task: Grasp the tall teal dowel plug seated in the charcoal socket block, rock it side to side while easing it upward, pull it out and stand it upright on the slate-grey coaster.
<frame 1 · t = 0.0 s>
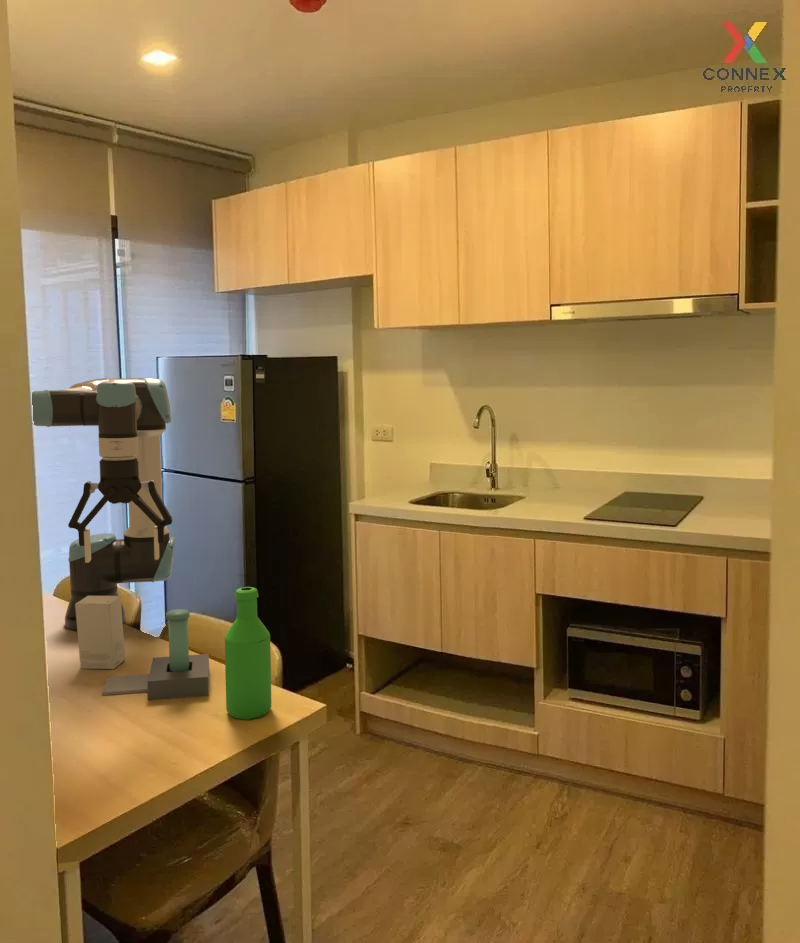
hand: (122, 559, 169), 28 cm above the table, fingers open, 13 cm apart
skincare box: (102, 665, 187), on the table
bottle: (249, 712, 162), on the table
plug: (178, 649, 174), in the socket block
socket block: (180, 684, 175), on the table
coaster: (127, 685, 175), on the table
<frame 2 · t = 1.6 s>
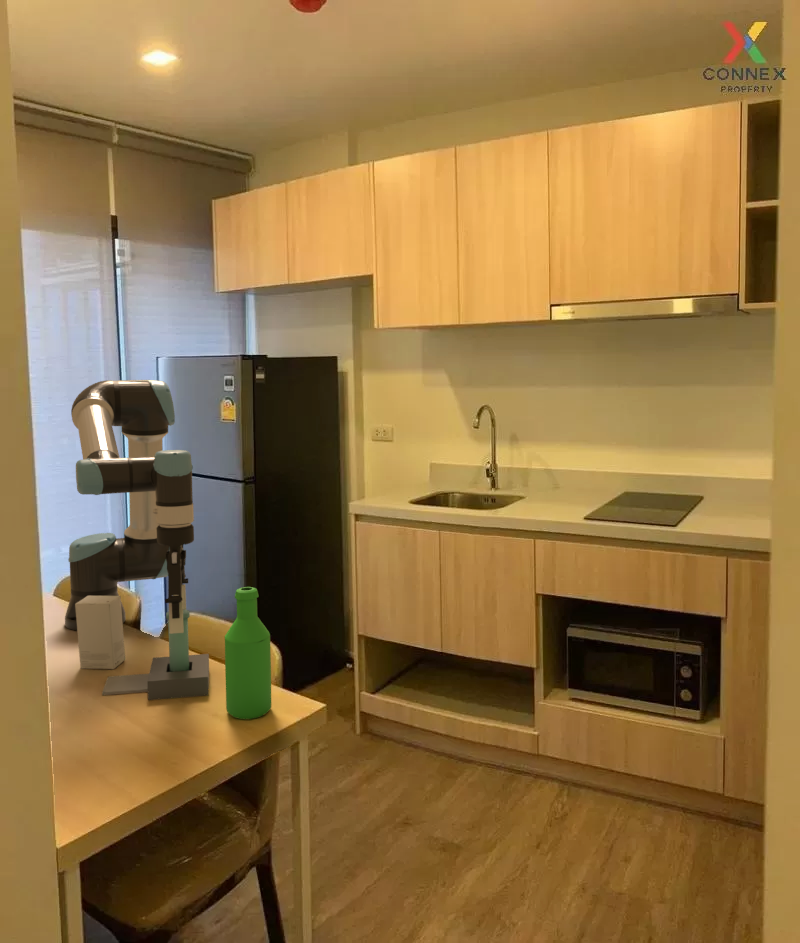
hand: (178, 623, 173), 14 cm above the table, fingers open, 13 cm apart
nothing on the table moved.
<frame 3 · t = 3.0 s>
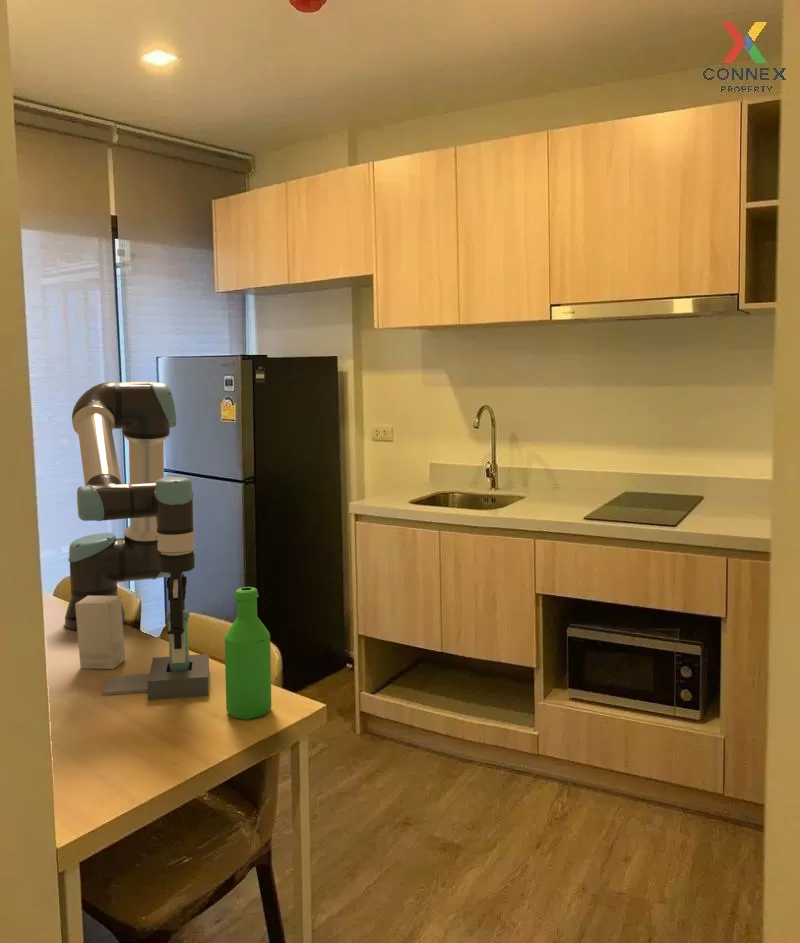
hand: (179, 658, 174), 6 cm above the table, fingers closed on plug, 4 cm apart
plug: (178, 648, 174), in the socket block, touching gripper
everything else where it was.
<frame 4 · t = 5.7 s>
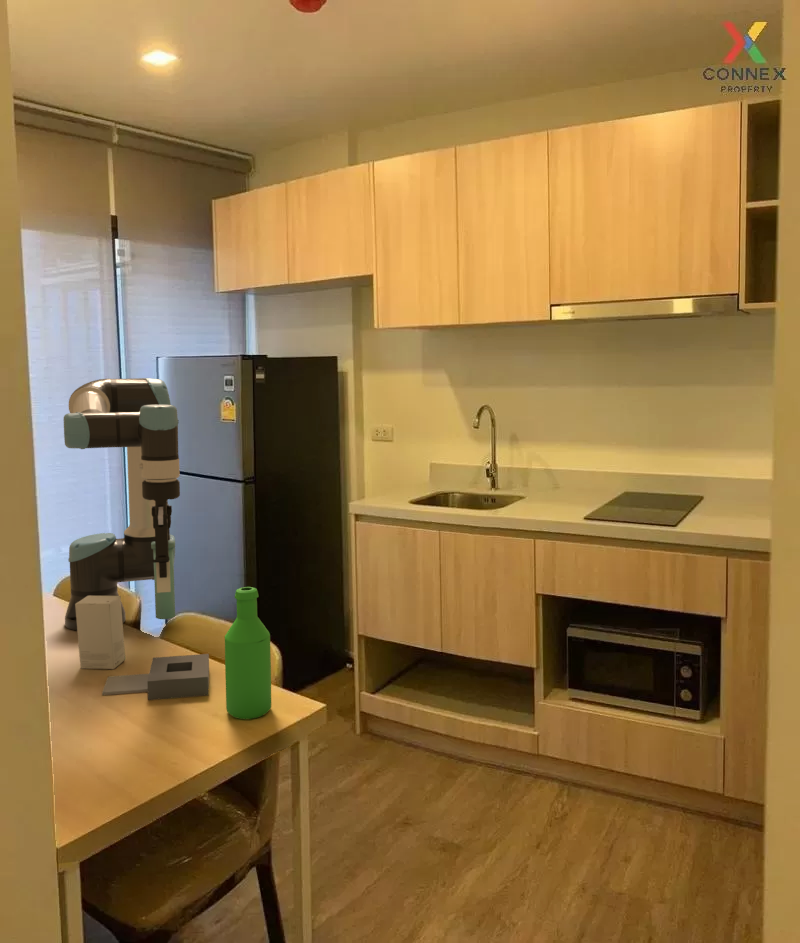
hand: (164, 588, 173), 21 cm above the table, fingers closed on plug, 4 cm apart
plug: (164, 579, 172), point 23 cm above the table, touching gripper
everything else where it was.
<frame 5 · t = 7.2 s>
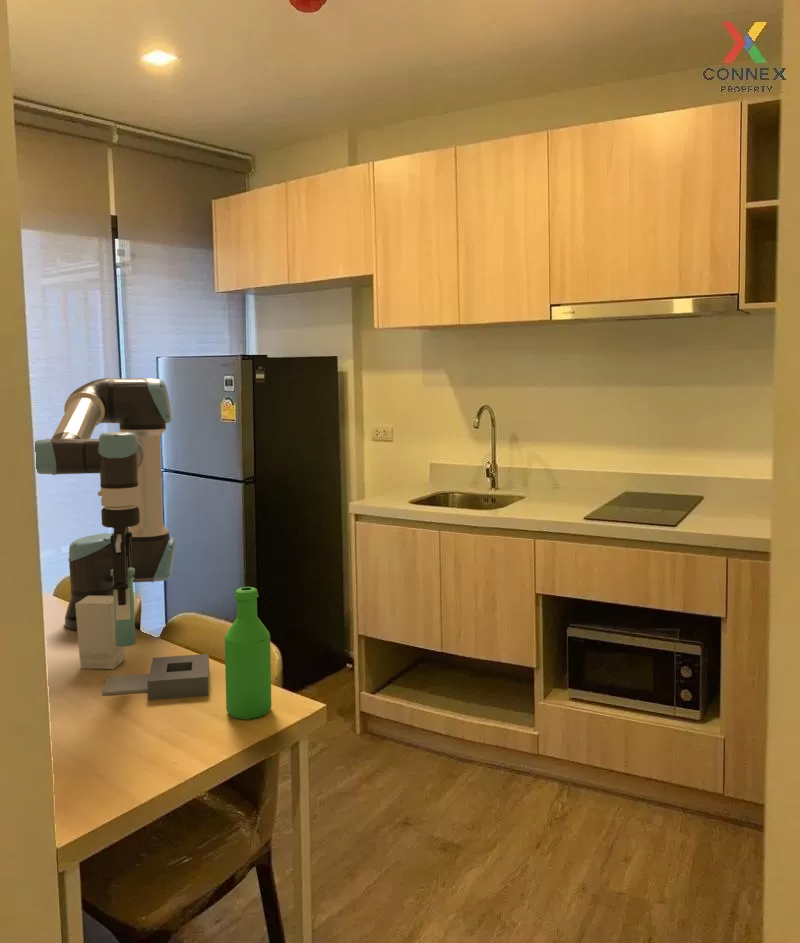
hand: (124, 615, 173), 15 cm above the table, fingers closed on plug, 4 cm apart
plug: (124, 606, 172), point 17 cm above the table, touching gripper
everything else where it was.
when the fingers open (8 cm above the table, at t = 8.6 s): plug stays where it is, resting on coaster.
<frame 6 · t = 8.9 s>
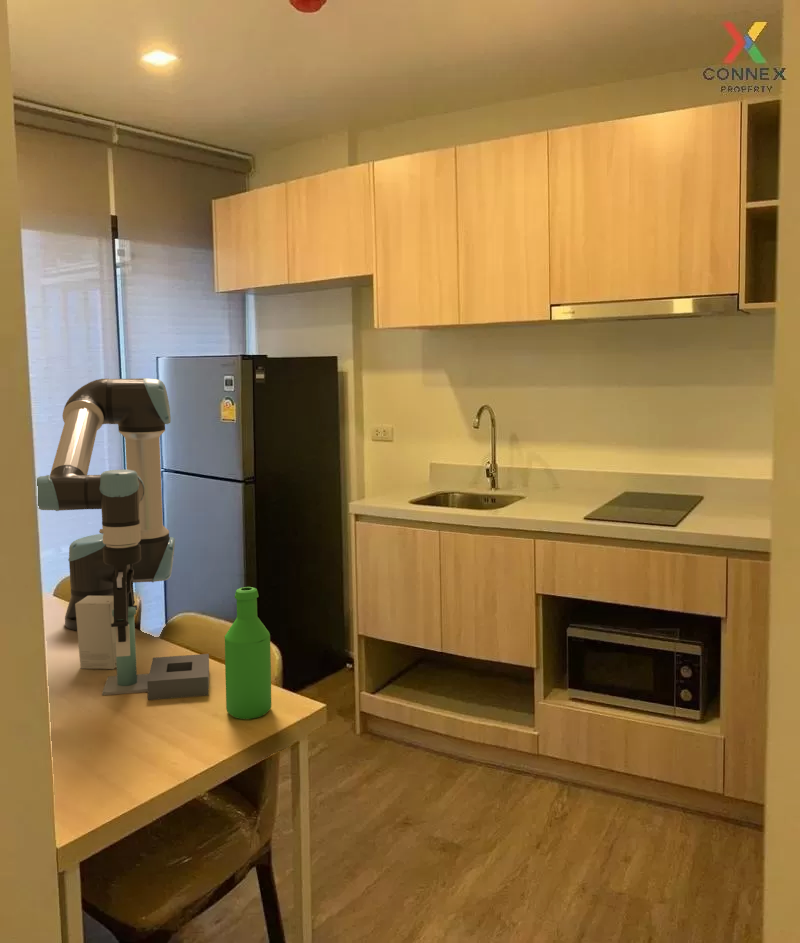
hand: (125, 647, 174), 8 cm above the table, fingers open, 9 cm apart
plug: (125, 646, 174), on the coaster, point 9 cm above the table
everything else where it was.
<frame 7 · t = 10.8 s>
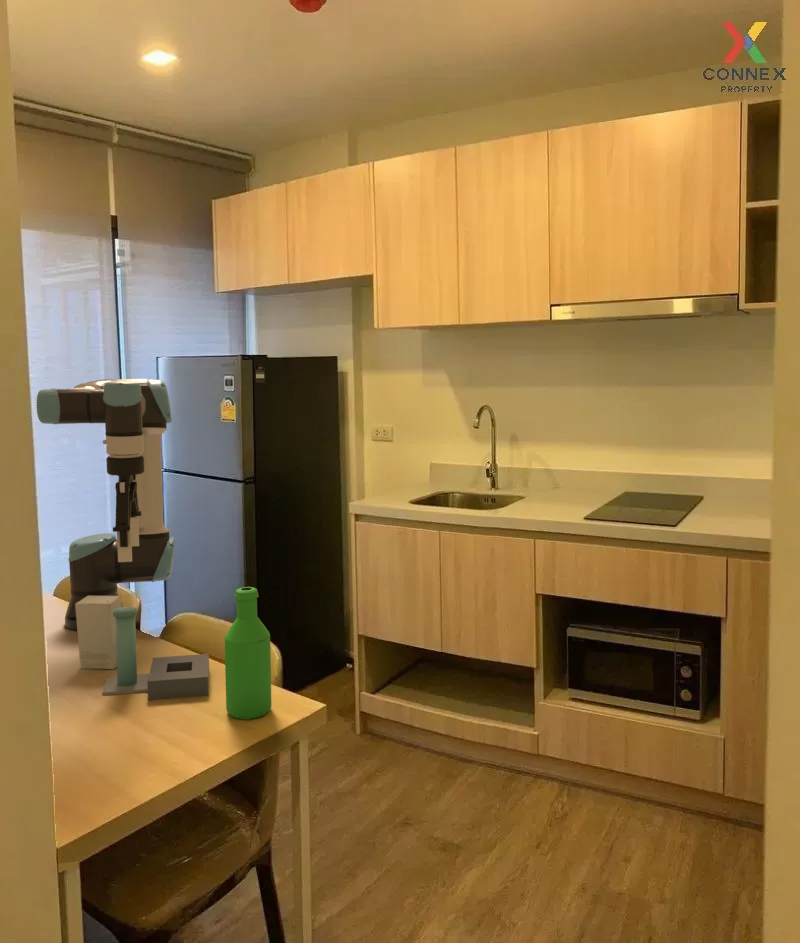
hand: (129, 553, 175), 28 cm above the table, fingers open, 13 cm apart
nothing on the table moved.
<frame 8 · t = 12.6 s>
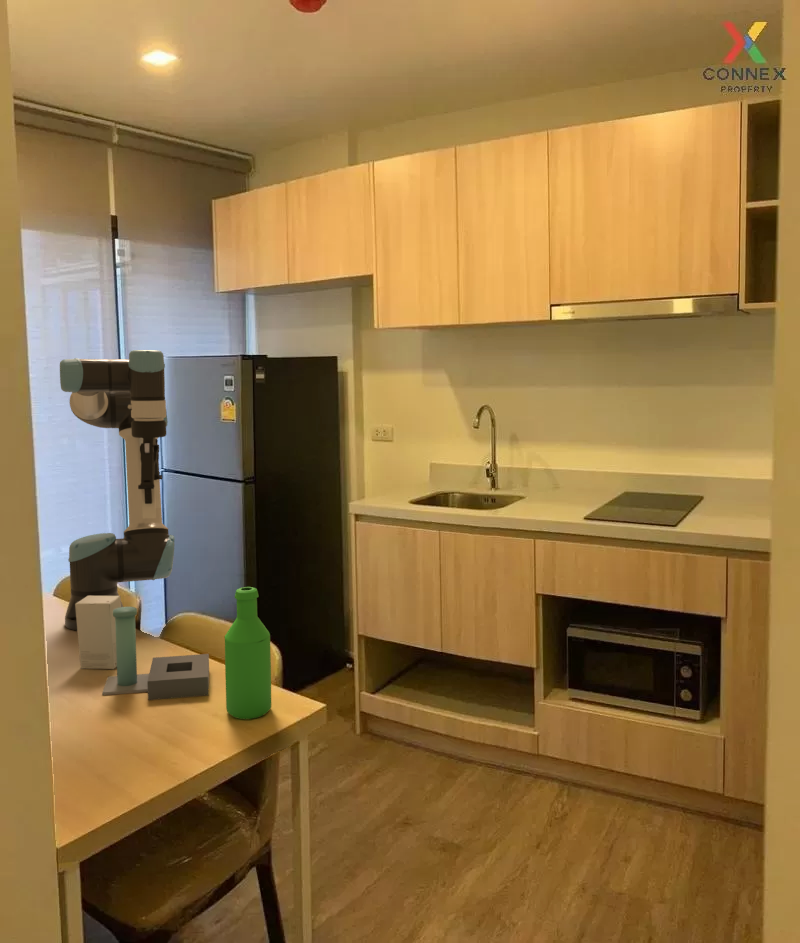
hand: (151, 512, 186), 35 cm above the table, fingers open, 13 cm apart
nothing on the table moved.
at the end: plug inside the target area on the coaster (0.1 cm from its centre), point 8.6 cm above the coaster's base; plug tilted 0°; plug touching coaster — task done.
